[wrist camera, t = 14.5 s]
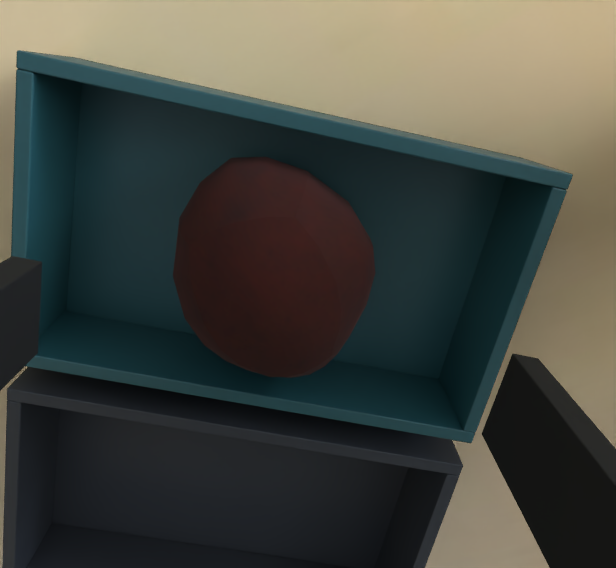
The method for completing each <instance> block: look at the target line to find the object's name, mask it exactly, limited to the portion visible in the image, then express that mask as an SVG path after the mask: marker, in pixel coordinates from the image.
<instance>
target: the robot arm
mask: <svg viewBox="0 0 616 568" xmlns="http://www.w3.org/2000/svg"><path fill="white" fill-rule="evenodd" d="M41 278H42V262H41V261H36V260H31V259H26V258H20V257H15V256H12V257H10V258H8V259H7V260H5V261H3V262H2V263H0V390H1V389H2V388H3V387H4V386H5V385H6V384H7V383H8V382H9V381H10V380H11V379H12V378H13V377H14V376H15V375H16V374H17V373H18V372H19V371H20V370H21V369H22V368H23V367H24V366H25V365H26V364H27V363H28V362H29V361H30V360H31V359H32V358H33V357H34V356H35V355H36V354H37V353H38V341H39V320H40V299H41ZM482 435H483V437H484V439H485V441H486V443H487V445H488V447H489V449H490V451H491V453H492V455H493V457H494V459H495V461H496V463H497V465H498V467H499V469H500V471H501V473H502V475H503V477H504V479H505V481H506V483H507V485H508V487H509V489H510V490H511V492H512V494H513V496H514V498H515V500H516V502H517V504H518V506H519V508H520V510H521V512H522V514H523V516H524V518H525V520H526V522H527V524H528V526H529V528H530V530H531V532H532V534H533V536H534V538H535V540H536V542H537V544H538V546H539V547H540V549H541V551H542V553H543V555H544V557H545V559H546V561H547V563H548V565H549V567H550V568H616V449H615V448H614V447H613V445H612V444H611V443H610V442H609V441H608V440H607V438H606V437H605V436H604V435H603V434H602V433H601V431H600V430H599V429H598V428H597V427H596V426H595V424H594V423H593V422H592V421H591V420H590V418H589V417H588V416H587V415H586V414H585V413H584V411H583V410H582V409H581V408H580V407H579V406H578V404H577V403H576V402H575V401H574V400H573V399H572V397H571V396H570V395H569V394H568V393H567V392H566V390H565V389H564V388H563V387H562V386H561V385H560V383H559V382H558V381H557V380H556V379H555V378H554V376H553V375H552V374H551V373H550V372H549V371H548V369H547V368H546V367H545V366H544V365H543V364H542V362H541V361H540V360H539V359H538V358H533V357H528V356H522V355H517V354H512V356H511V359H510V362H509V364H508V367H507V369H506V372H505V375H504V377H503V380H502V382H501V385H500V388H499V390H498V393H497V395H496V398H495V401H494V403H493V406H492V408H491V411H490V414H489V416H488V419H487V421H486V424H485V427H484V429H483V432H482Z"/></svg>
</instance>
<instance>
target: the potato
mask: <svg viewBox="0 0 616 568" xmlns="http://www.w3.org/2000/svg"><path fill="white" fill-rule="evenodd" d="M374 276H375V263H374V252H373V245H372V242H371V239H370V237H369V235H368V234H367V232H366V230H365V229H364V227H363V225H362V224H361V222H360V220H359V219H358V217H357V215H356V213H355V212H354V210H353V208H352V207H351V205H350V203H349V202H348V201H347V200H346V199H344V198H343V197H342V196H340V195H339V194H338V193H336V192H335V191H334V190H332V189H331V188H330V187H328V186H327V185H326V184H324V183H323V182H322V181H320V180H319V179H318V178H316V177H315V176H314V175H312V174H311V173H310V172H308V171H306V170H303V169H300V168H297V167H295V166H292V165H289V164H286V163H283V162H280V161H277V160H274V159H271V158H268V157H238V158H230V159H229V160H228V161H226V162H225V163H224V164H222V165H221V166H220V167H219V168H217V169H216V170H215V171H213V172H212V173H211V174H210V175H208V176H207V177H206V178H205V179H204V180H202V181H201V182H200V183H199V185H198V187H197V189H196V190H195V192H194V194H193V195H192V197H191V199H190V200H189V202H188V204H187V206H186V207H185V209H184V211H183V212H182V214H181V216H180V218H179V225H178V234H177V243H176V252H175V261H174V269H173V279H174V282H175V286H176V289H177V293H178V296H179V300H180V303H181V307H182V310H183V314H184V317H185V319H186V321H187V322H188V324H189V325H190V326H191V328H192V329H193V331H194V332H195V333H196V335H197V336H198V337H199V339H200V340H201V342H202V343H203V344H204V346H206V347H207V348H209V349H210V350H211V351H213V352H214V353H215V354H217V355H218V356H220V357H221V358H222V359H224V360H225V361H227V362H229V363H232V364H234V365H236V366H238V367H241V368H243V369H245V370H248V371H251V372H255V373H259V374H262V375H265V376H268V377H287V378H293V377H299V376H305V375H310V374H311V373H313V372H315V371H317V370H319V369H321V368H322V367H324V366H325V365H327V364H328V363H329V362H330V361H331V360H332V359H333V358H334V357H335V356H336V355H337V354H338V353H339V351H340V350H341V348H342V347H343V345H344V344H345V342H346V341H347V339H348V338H349V337H350V335H351V333H352V331H353V329H354V327H355V325H356V324H357V322H358V320H359V318H360V316H361V314H362V312H363V311H364V309H365V307H366V305H367V301H368V298H369V294H370V291H371V287H372V284H373V280H374Z"/></svg>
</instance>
